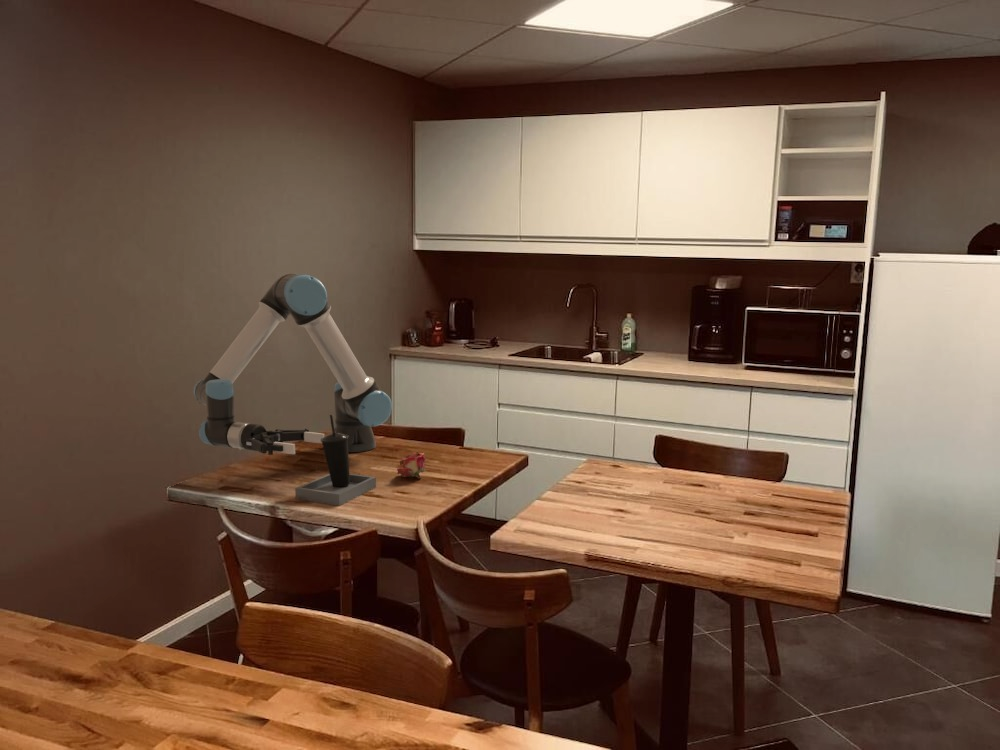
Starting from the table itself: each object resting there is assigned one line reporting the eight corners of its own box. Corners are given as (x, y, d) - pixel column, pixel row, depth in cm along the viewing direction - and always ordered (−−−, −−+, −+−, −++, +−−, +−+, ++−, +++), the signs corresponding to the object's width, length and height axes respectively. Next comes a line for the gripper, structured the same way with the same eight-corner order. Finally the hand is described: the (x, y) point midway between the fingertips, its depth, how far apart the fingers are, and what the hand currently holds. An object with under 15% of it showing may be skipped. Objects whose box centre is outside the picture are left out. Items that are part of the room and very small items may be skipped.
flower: (438, 471, 236) (427, 447, 238) (422, 472, 227) (411, 448, 230) (413, 486, 239) (402, 462, 241) (397, 488, 231) (386, 463, 233)
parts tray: (334, 481, 230) (334, 471, 230) (376, 487, 225) (375, 477, 224) (295, 498, 214) (295, 488, 213) (339, 505, 209) (339, 494, 208)
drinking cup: (349, 488, 219) (338, 417, 215) (323, 489, 220) (312, 419, 217) (359, 479, 226) (348, 411, 223) (333, 481, 228) (323, 413, 224)
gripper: (276, 440, 241) (335, 447, 233) (218, 459, 218) (281, 467, 210) (275, 415, 240) (334, 422, 232) (216, 432, 217) (280, 440, 209)
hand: (309, 443), depth 221 cm, fingers open, 13 cm apart
